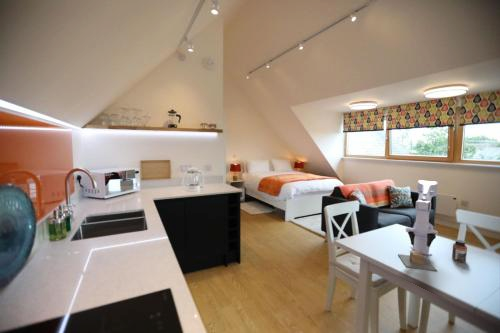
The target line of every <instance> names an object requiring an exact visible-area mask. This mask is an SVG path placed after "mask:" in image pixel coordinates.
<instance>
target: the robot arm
mask: <svg viewBox="0 0 500 333" xmlns="http://www.w3.org/2000/svg"><path fill="white" fill-rule="evenodd" d="M416 186H417V193H418V198H417V200H416V201H415V214H416V215H415V222H414V224H413V226H412V227H405V232H406V233H407V234H408V237H409V239H410V244H411V246H410V247H411V249H412V251H418V252H421V253H422V254H423V255H427V256H432V255H433V254H432V252H430V247H431V246H432V243H433V241H434V240H435V239H436V238H437V236H438V234H439V233H438V232H439V231H437V230H436V229H434V225H432V224H431V223H430V222H429V220H430V212H431V209H432V198H433V197H436V196H437V194H438V186H439V184H438V182H437V181H433V180H431V181H430V180H417V185H416Z"/></svg>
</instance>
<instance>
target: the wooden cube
mask: <svg viewBox="0 0 500 333" xmlns="http://www.w3.org/2000/svg"><path fill="white" fill-rule="evenodd" d="M409 255H410V260H411V262H412V263H415V264H422V265H423V264H424V257H425V254H422V253H421V252H418V251H414V250H410V251H409Z"/></svg>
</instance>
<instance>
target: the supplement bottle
mask: <svg viewBox="0 0 500 333" xmlns="http://www.w3.org/2000/svg"><path fill="white" fill-rule="evenodd" d="M467 253H468V246H467V245H466V241H464V240H462V239H455V242H454V243H453V244H452V253H451V258H452V260H454V261H456V262H458V263H466V261H467Z"/></svg>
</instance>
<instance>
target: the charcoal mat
mask: <svg viewBox="0 0 500 333" xmlns="http://www.w3.org/2000/svg"><path fill="white" fill-rule="evenodd" d="M397 256H398V257H399V258H400V260H401V262H402V264H403V265H404V266H405V267H406V268H409V269H419V270H425V271H431V272H437V271H438V269H436V267H435V266H434V265H433V264H432V263H431V261H430V260H429V259H428V258H427V257H425V256H424V264H423V265H422V264H415V263H412V262H411V260H410V254H400V253H398V254H397Z"/></svg>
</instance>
